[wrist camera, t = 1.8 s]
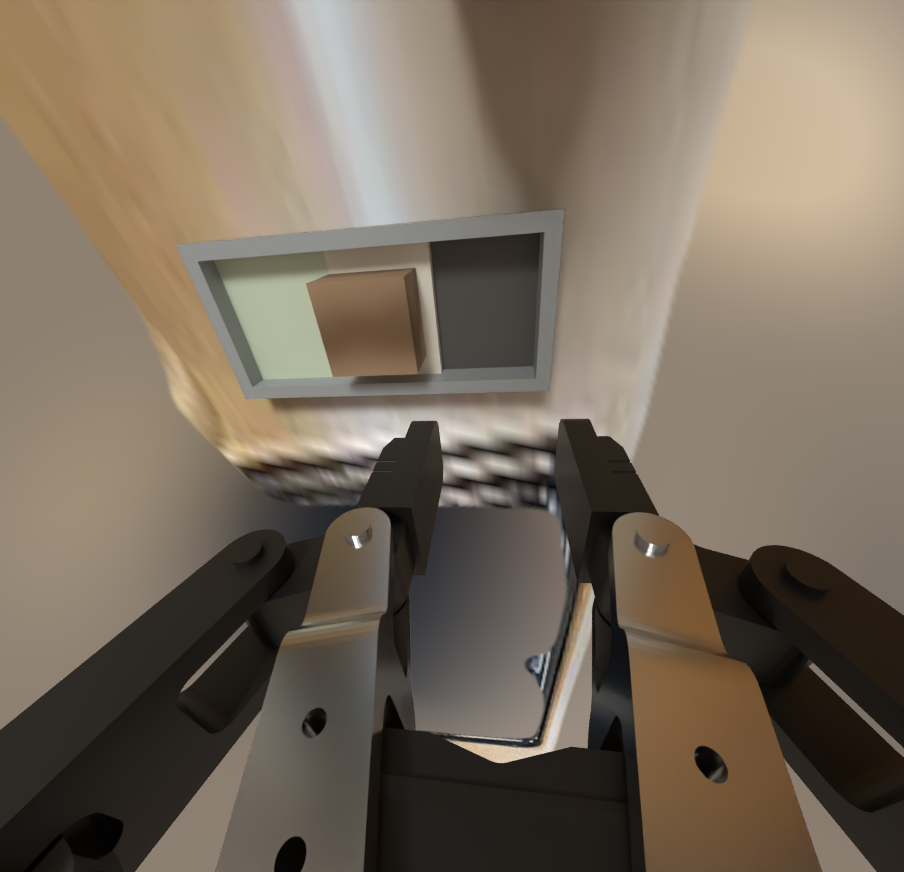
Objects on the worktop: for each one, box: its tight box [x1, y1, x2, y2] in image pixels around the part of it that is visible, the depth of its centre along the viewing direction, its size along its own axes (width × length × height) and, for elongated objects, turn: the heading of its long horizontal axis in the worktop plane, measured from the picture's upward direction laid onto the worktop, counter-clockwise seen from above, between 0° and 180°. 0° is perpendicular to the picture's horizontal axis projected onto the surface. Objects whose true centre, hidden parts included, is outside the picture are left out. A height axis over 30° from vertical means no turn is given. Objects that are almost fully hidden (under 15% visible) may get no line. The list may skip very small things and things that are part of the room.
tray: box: [176, 209, 565, 399], centre depth 24 cm, size 11×24×2 cm, turn 95°
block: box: [306, 268, 426, 377], centre depth 23 cm, size 6×6×4 cm
